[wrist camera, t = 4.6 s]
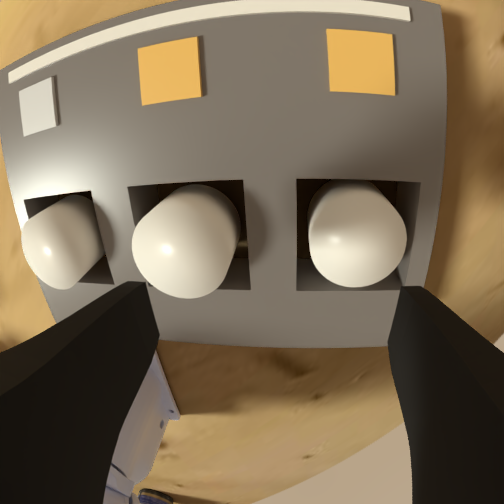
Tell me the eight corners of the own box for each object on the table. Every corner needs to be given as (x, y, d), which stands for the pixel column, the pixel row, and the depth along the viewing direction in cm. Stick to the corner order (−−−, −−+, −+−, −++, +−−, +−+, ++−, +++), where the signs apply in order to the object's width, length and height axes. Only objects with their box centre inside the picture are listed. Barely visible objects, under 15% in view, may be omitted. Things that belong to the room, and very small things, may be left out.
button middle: (244, 263, 15) (233, 300, 13) (166, 262, 16) (143, 295, 13) (237, 182, 14) (223, 204, 11) (152, 186, 14) (122, 209, 12)
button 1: (383, 254, 15) (398, 286, 13) (306, 254, 16) (308, 287, 13) (391, 177, 14) (412, 197, 11) (306, 175, 14) (309, 194, 11)
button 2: (117, 261, 16) (90, 292, 14) (65, 260, 17) (36, 286, 14) (101, 191, 15) (66, 213, 12) (47, 198, 15) (13, 218, 12)
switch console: (394, 310, 17) (408, 347, 15) (78, 299, 20) (55, 326, 17) (415, 19, 10) (442, 3, 7) (29, 70, 13) (-8, 73, 10)
